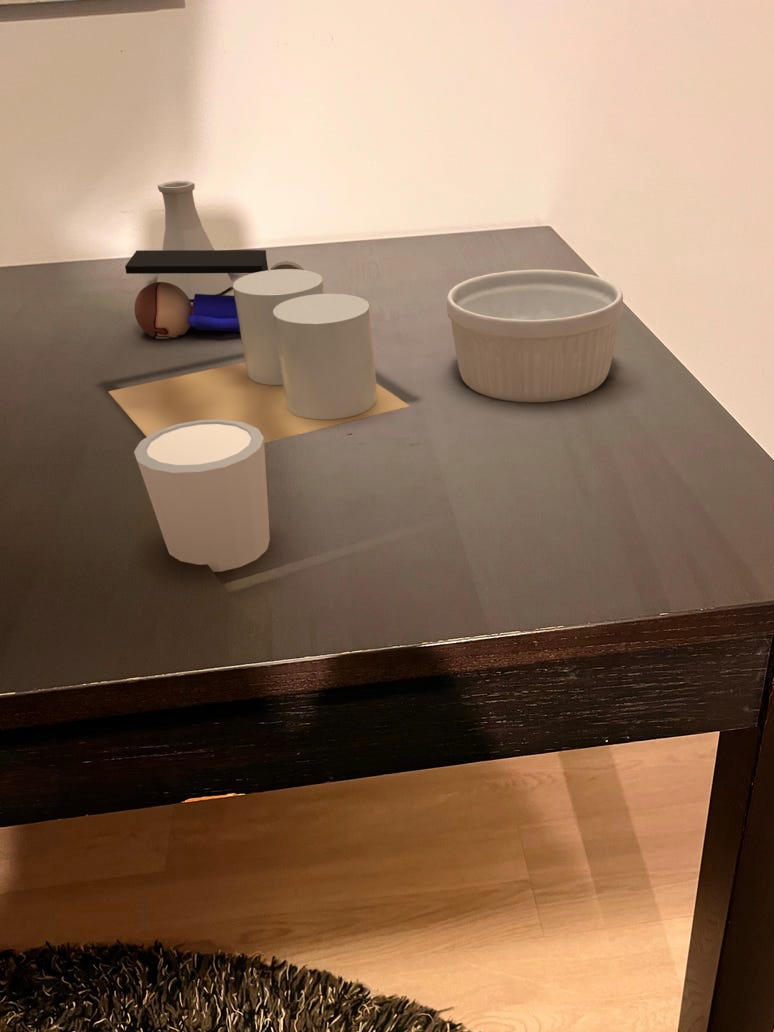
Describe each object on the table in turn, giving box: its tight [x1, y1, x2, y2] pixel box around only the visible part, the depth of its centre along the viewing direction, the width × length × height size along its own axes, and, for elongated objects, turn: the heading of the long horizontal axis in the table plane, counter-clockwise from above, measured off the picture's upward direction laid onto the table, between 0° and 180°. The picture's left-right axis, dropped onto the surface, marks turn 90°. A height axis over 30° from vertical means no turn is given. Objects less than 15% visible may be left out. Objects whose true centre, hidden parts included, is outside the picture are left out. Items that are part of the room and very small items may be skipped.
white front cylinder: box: [273, 293, 377, 420], centre depth 73 cm, size 7×7×7 cm
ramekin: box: [446, 269, 624, 403], centre depth 77 cm, size 13×13×7 cm
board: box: [107, 361, 411, 444], centre depth 77 cm, size 18×16×1 cm
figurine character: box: [124, 249, 305, 340], centre depth 88 cm, size 7×8×15 cm
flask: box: [156, 180, 234, 300], centre depth 99 cm, size 7×7×10 cm
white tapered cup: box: [133, 419, 271, 573], centre depth 56 cm, size 7×7×7 cm
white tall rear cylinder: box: [232, 269, 325, 386], centre depth 79 cm, size 7×7×7 cm
